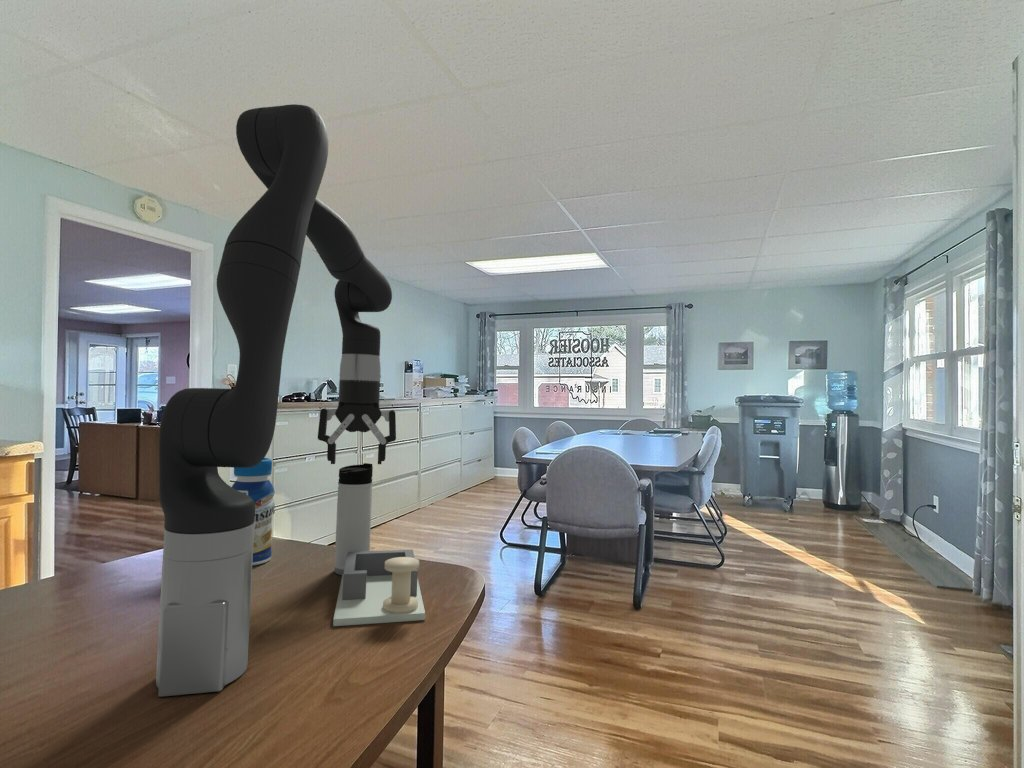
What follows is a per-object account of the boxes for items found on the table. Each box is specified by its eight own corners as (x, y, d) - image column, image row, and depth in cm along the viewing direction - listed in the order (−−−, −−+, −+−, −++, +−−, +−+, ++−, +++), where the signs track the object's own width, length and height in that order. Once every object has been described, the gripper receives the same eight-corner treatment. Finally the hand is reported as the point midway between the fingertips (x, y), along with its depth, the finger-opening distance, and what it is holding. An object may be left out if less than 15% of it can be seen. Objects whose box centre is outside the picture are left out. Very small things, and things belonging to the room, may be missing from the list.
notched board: (425, 619, 78) (426, 566, 79) (333, 626, 75) (335, 571, 76) (415, 576, 98) (417, 533, 98) (342, 579, 95) (344, 535, 95)
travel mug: (377, 569, 101) (381, 464, 102) (349, 578, 95) (354, 467, 96) (354, 563, 104) (359, 461, 105) (327, 571, 99) (331, 464, 100)
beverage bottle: (254, 552, 109) (258, 455, 110) (281, 559, 105) (286, 459, 106) (214, 562, 102) (219, 459, 103) (242, 570, 98) (247, 462, 99)
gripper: (318, 376, 96) (314, 466, 95) (398, 379, 99) (395, 466, 99) (322, 378, 103) (319, 461, 103) (397, 381, 107) (394, 461, 106)
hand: (356, 463), depth 101 cm, fingers open, 8 cm apart
